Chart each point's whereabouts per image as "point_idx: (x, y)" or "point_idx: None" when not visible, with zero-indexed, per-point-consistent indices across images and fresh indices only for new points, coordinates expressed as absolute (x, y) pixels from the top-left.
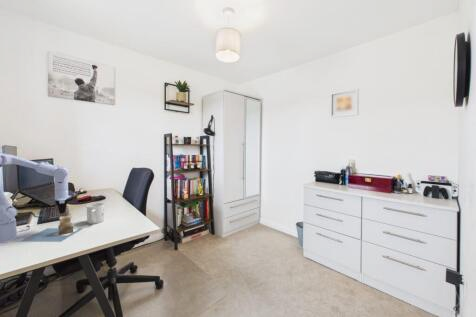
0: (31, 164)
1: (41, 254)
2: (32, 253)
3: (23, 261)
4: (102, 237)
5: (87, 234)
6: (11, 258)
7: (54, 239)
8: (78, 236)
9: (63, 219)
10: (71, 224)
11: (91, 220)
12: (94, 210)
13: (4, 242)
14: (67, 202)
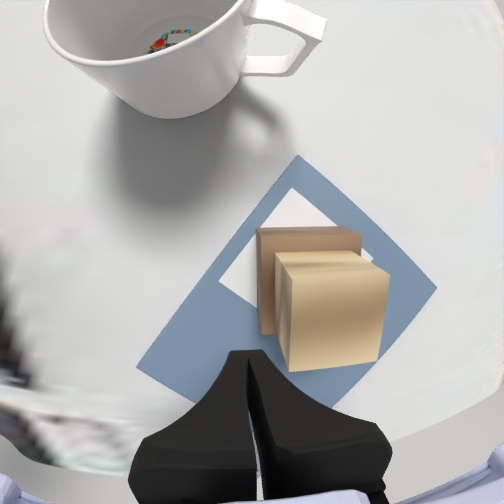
0: None
1: (481, 338)
2: (452, 369)
3: (482, 374)
4: (484, 106)
5: (415, 151)
6: (435, 414)
7: (386, 321)
8: (415, 201)
9: (379, 329)
10: (304, 244)
11: (233, 81)
12: (303, 9)
13: (257, 476)
14: (376, 428)
